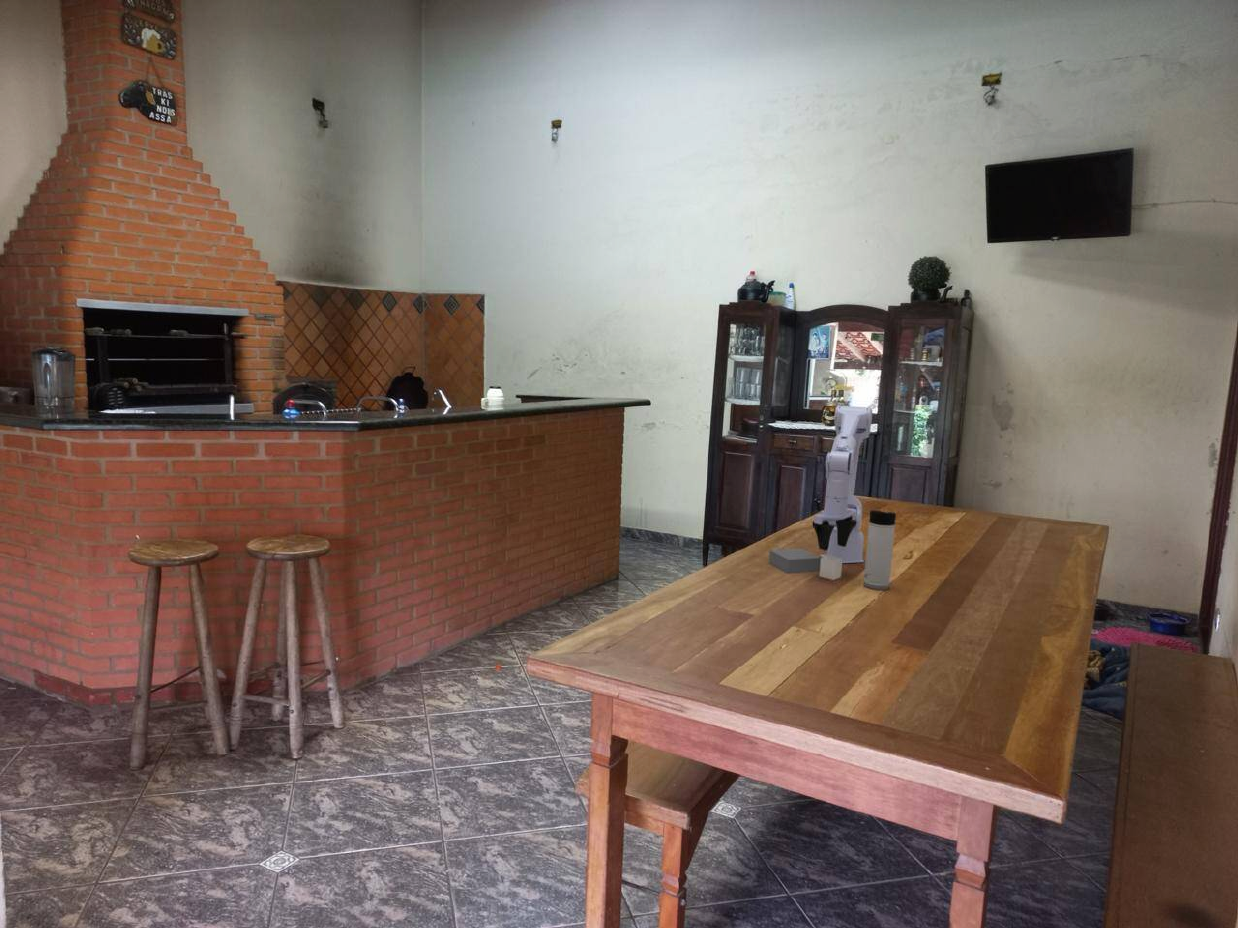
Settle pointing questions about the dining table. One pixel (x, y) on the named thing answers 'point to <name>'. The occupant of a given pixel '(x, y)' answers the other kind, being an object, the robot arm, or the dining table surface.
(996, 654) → the dining table surface
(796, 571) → the base block
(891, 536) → the travel mug
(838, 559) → the top block
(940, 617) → the dining table surface
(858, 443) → the robot arm
